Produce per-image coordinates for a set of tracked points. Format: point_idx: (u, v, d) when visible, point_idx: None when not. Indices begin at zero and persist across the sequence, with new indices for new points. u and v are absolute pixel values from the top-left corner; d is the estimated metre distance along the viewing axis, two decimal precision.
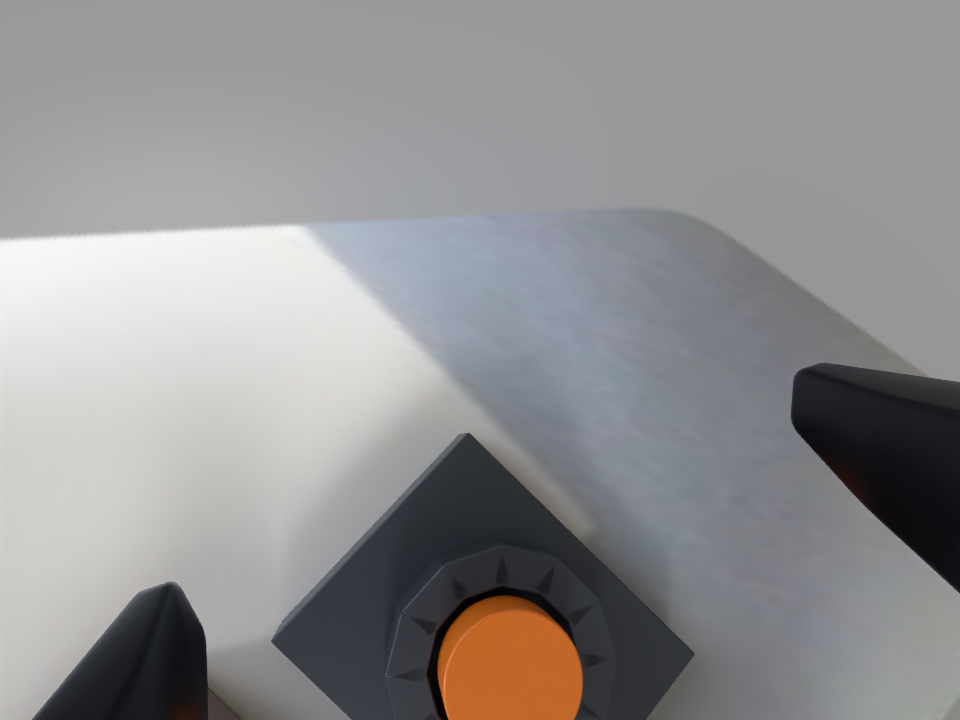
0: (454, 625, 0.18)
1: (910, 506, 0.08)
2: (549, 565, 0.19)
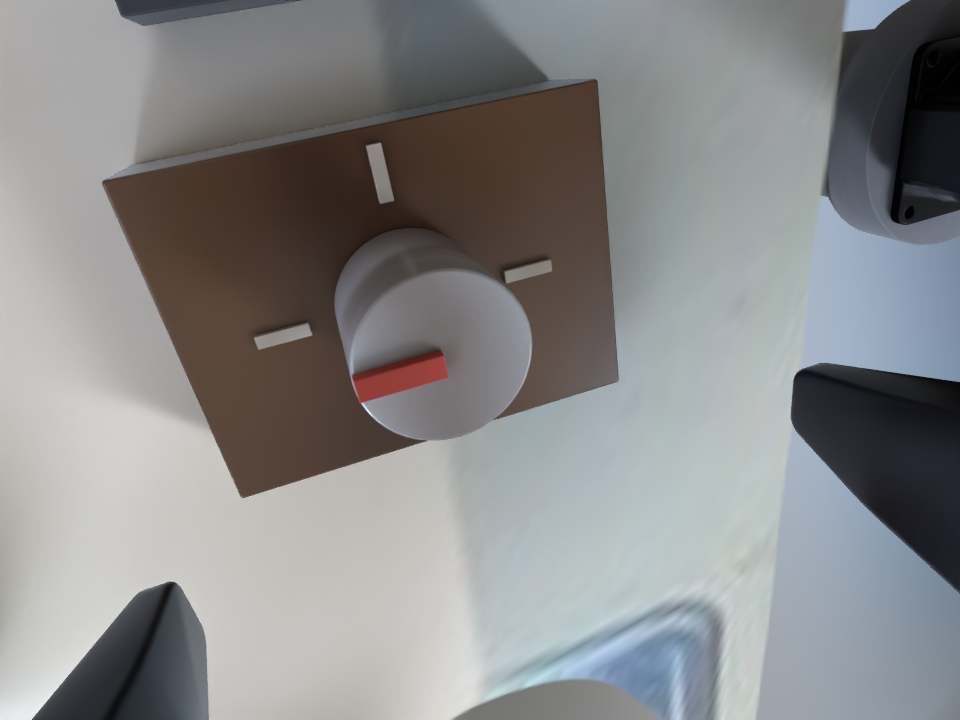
0: None
1: (910, 506, 0.08)
2: None
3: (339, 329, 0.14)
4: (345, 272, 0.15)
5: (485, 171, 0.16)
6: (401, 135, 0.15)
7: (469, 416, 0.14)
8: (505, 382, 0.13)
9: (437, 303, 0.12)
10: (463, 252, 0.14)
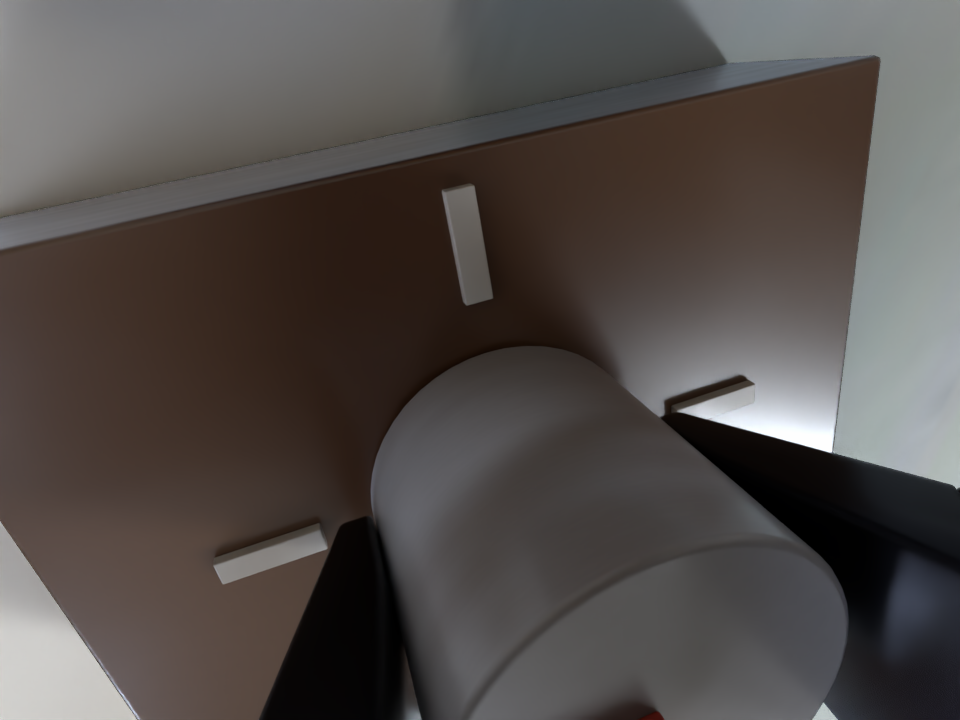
0: None
1: None
2: None
3: (388, 576, 0.07)
4: (396, 444, 0.07)
5: (662, 234, 0.08)
6: (513, 169, 0.07)
7: None
8: None
9: (667, 621, 0.05)
10: (655, 420, 0.07)
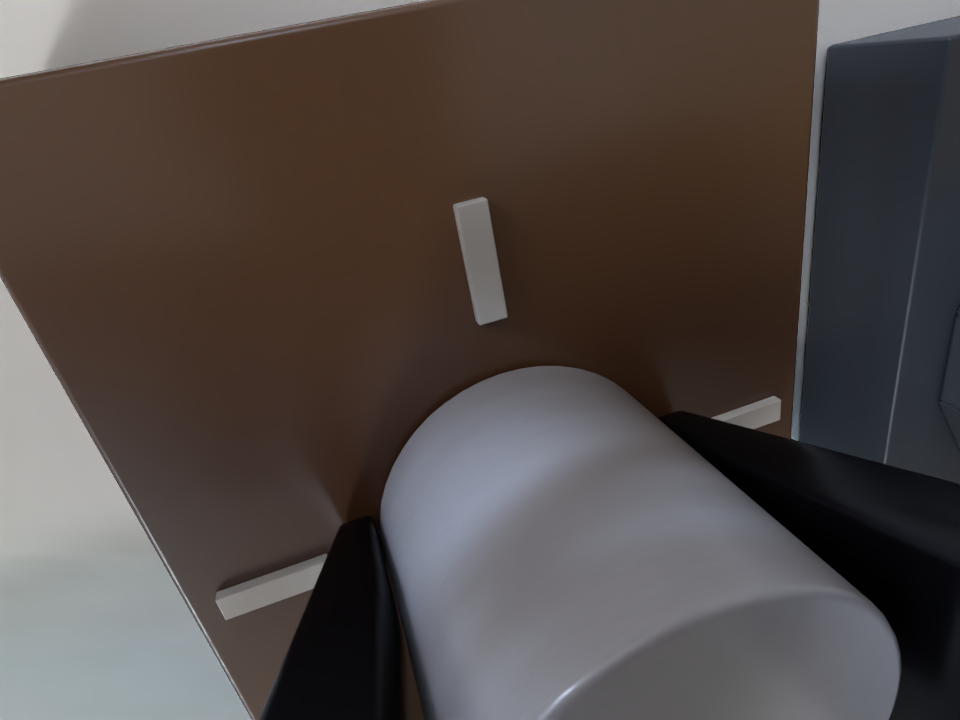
0: None
1: None
2: None
3: (400, 615, 0.07)
4: (406, 473, 0.07)
5: None
6: None
7: None
8: None
9: (708, 683, 0.04)
10: (683, 448, 0.06)
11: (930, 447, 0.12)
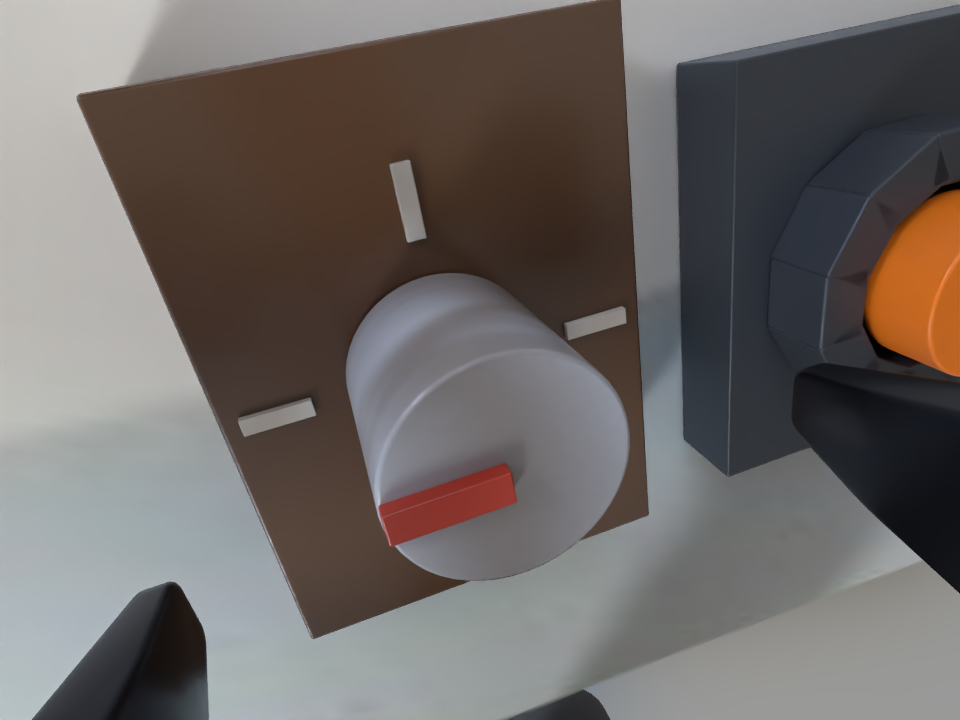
0: (957, 195, 0.13)
1: (910, 506, 0.08)
2: None
3: (354, 417, 0.11)
4: (361, 335, 0.11)
5: None
6: (626, 342, 0.14)
7: (540, 545, 0.10)
8: (591, 498, 0.10)
9: (501, 400, 0.08)
10: (525, 311, 0.10)
11: (765, 362, 0.16)
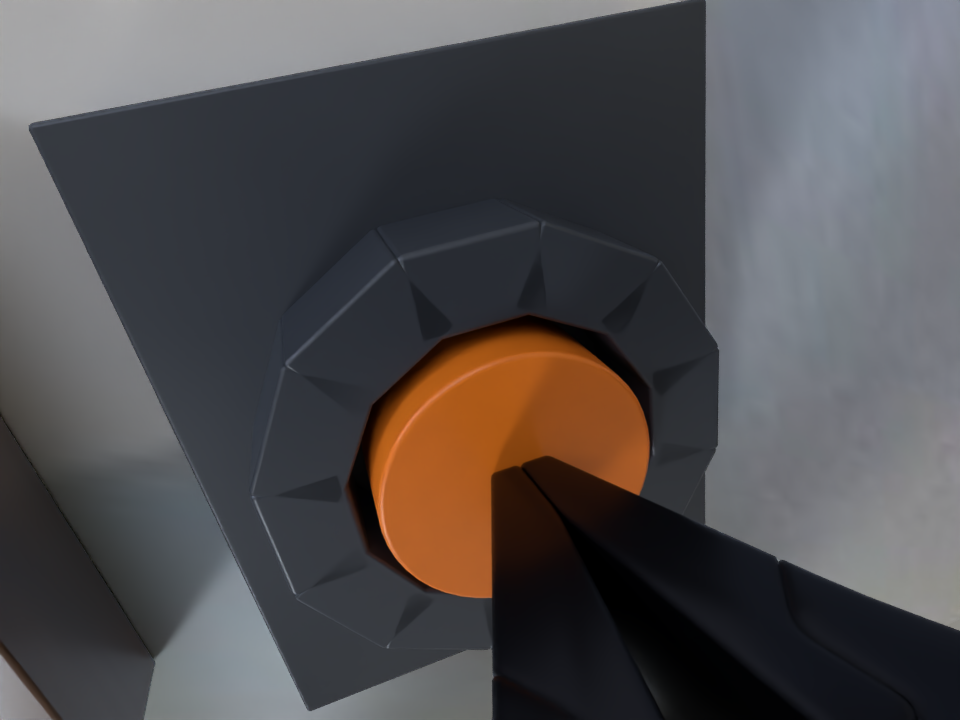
0: None
1: None
2: (699, 350, 0.09)
3: None
4: None
5: None
6: None
7: None
8: None
9: None
10: None
11: None
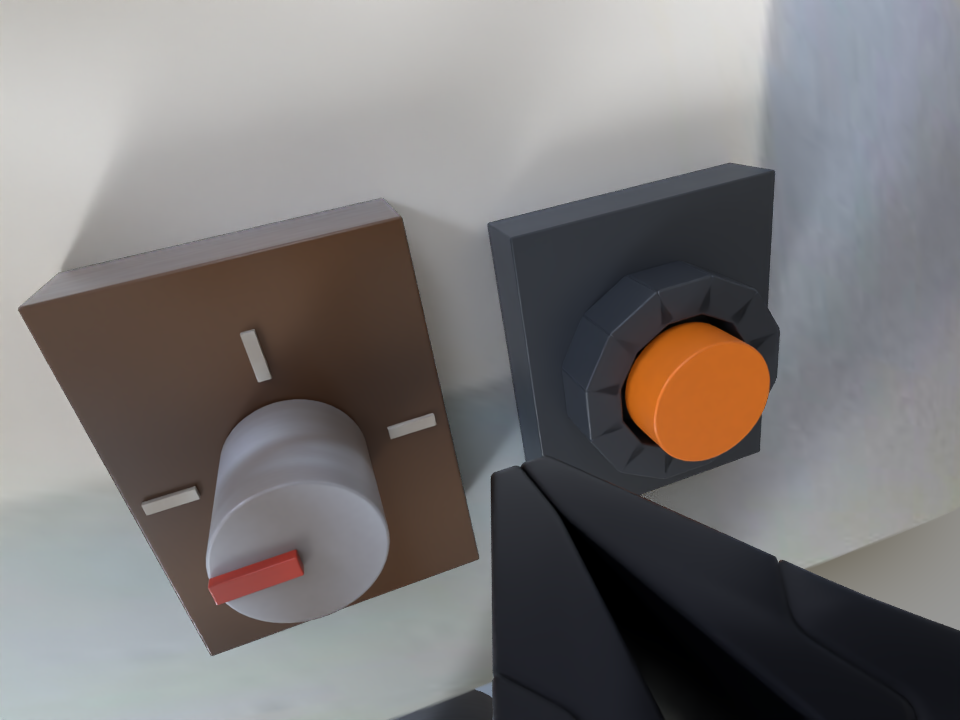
0: (682, 329, 0.18)
1: None
2: (771, 330, 0.19)
3: None
4: (225, 447, 0.16)
5: (413, 499, 0.19)
6: (440, 436, 0.18)
7: (332, 599, 0.14)
8: (365, 568, 0.14)
9: (287, 512, 0.13)
10: (330, 437, 0.15)
11: (571, 441, 0.21)
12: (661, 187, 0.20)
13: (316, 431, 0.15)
